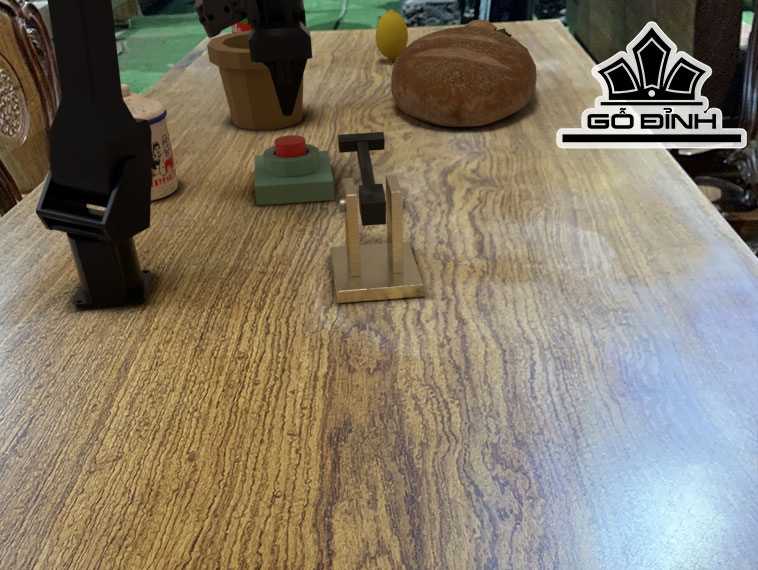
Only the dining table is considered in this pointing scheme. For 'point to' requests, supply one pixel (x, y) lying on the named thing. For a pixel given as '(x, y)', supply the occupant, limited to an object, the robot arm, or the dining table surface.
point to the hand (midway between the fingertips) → (287, 113)
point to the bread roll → (486, 26)
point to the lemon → (391, 35)
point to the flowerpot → (249, 85)
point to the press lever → (367, 175)
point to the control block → (293, 177)
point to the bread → (463, 77)
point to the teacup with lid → (155, 141)
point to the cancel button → (290, 146)
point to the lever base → (374, 253)
